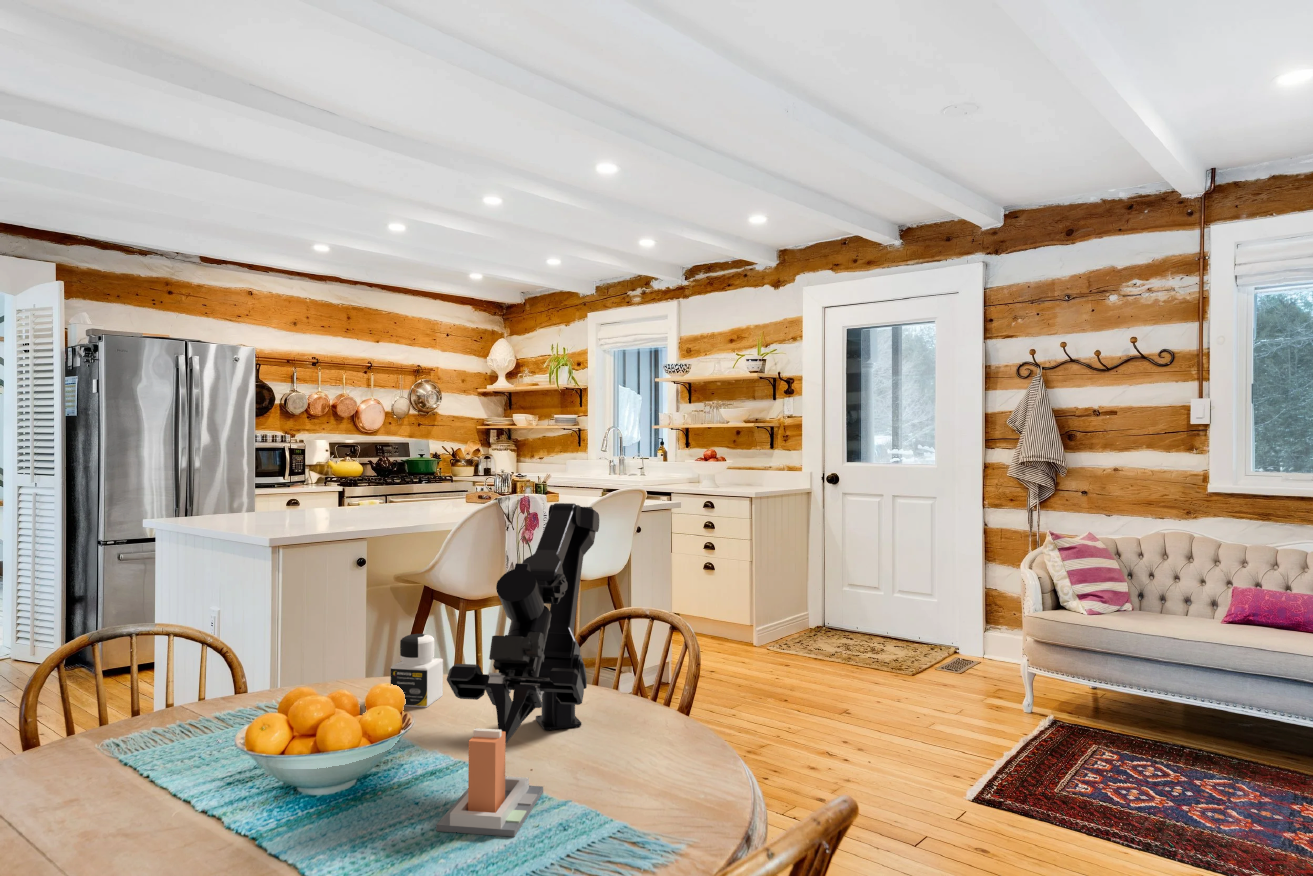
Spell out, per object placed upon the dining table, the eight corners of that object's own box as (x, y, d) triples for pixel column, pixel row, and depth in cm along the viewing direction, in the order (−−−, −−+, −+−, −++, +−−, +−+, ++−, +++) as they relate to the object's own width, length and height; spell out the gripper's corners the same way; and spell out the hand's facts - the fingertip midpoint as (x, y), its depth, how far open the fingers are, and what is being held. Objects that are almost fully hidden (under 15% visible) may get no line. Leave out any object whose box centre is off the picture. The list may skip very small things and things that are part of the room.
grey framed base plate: (473, 787, 117) (473, 771, 117) (543, 792, 116) (543, 775, 116) (436, 831, 104) (436, 812, 104) (514, 836, 103) (514, 818, 103)
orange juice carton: (479, 802, 110) (479, 724, 110) (505, 804, 109) (505, 725, 109) (468, 816, 106) (468, 734, 106) (495, 818, 105) (495, 736, 105)
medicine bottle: (389, 706, 152) (390, 639, 152) (407, 694, 159) (408, 630, 159) (426, 708, 151) (427, 641, 151) (443, 696, 158) (443, 632, 158)
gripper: (451, 607, 120) (419, 711, 109) (579, 612, 117) (559, 718, 107) (471, 648, 128) (443, 748, 117) (591, 653, 125) (574, 755, 115)
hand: (502, 742), depth 114 cm, fingers closed
